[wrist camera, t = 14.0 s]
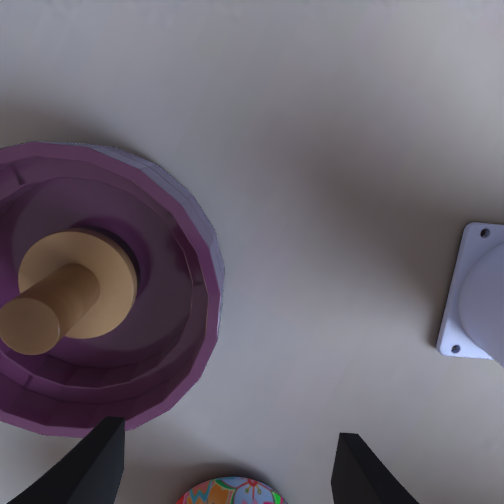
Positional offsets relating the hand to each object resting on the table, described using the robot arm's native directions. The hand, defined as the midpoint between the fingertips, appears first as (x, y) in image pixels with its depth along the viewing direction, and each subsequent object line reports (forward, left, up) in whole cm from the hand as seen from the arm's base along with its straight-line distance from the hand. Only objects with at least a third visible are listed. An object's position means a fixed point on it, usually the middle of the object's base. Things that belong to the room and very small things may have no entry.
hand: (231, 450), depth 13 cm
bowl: (+8, -2, -10) cm, 13 cm away
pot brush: (+8, -2, -10) cm, 13 cm away
